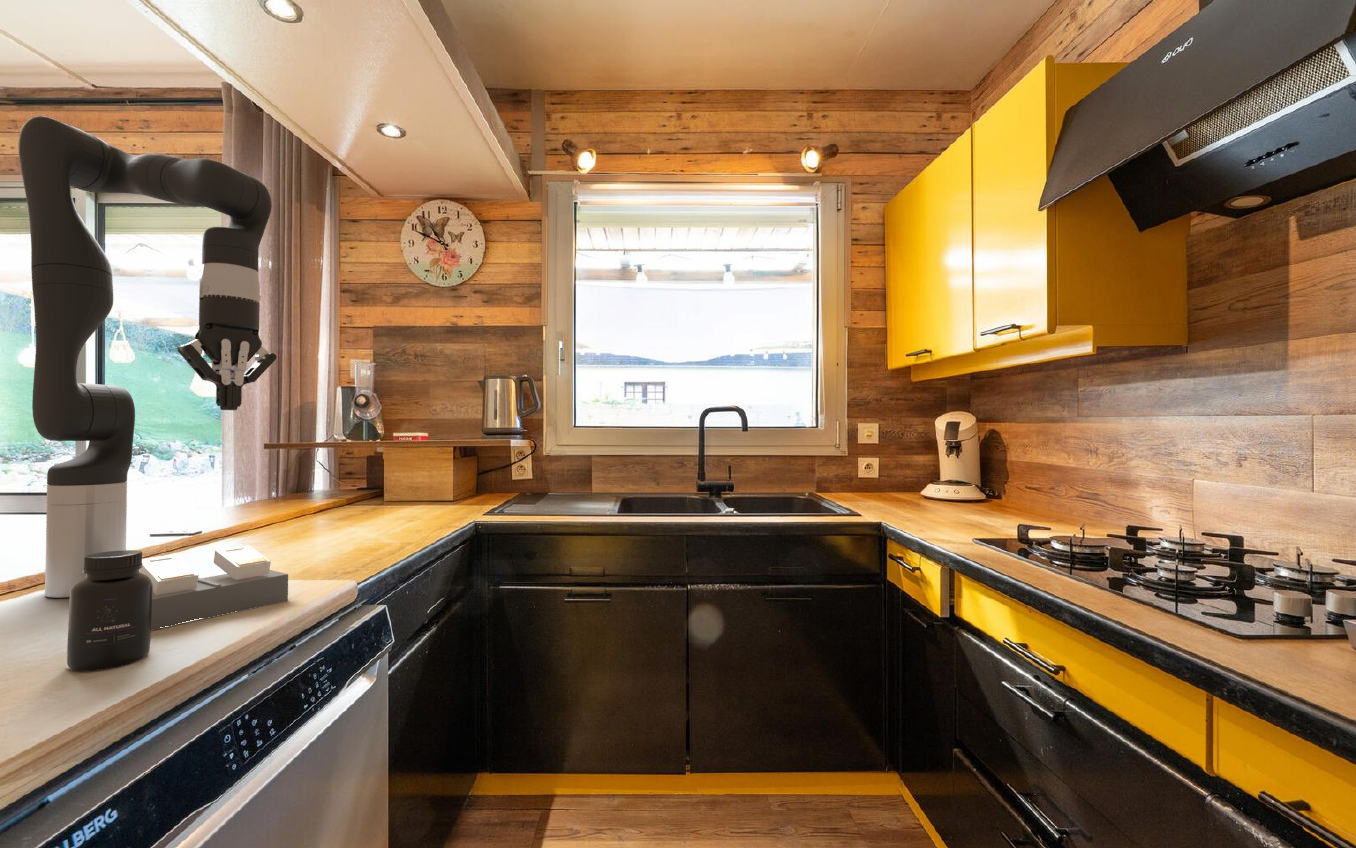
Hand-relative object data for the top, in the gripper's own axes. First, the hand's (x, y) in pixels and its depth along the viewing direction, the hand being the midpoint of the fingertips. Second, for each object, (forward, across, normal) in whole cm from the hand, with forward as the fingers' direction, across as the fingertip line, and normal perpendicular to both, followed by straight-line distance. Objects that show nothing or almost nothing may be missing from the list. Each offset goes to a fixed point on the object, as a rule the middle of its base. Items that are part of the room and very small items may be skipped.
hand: (228, 410), depth 93 cm
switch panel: (+29, +4, +5) cm, 30 cm away
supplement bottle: (+29, +18, +18) cm, 39 cm away
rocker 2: (+23, 0, +5) cm, 23 cm away
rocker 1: (+23, +9, +5) cm, 25 cm away
